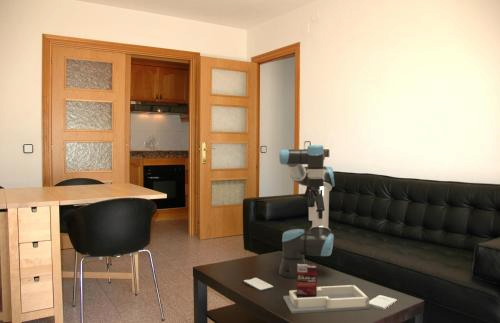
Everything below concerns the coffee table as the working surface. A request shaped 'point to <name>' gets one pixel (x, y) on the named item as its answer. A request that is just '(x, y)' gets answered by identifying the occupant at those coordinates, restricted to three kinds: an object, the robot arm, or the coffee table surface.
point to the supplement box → (306, 280)
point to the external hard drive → (382, 302)
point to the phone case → (258, 284)
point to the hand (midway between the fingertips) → (315, 223)
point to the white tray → (328, 300)
